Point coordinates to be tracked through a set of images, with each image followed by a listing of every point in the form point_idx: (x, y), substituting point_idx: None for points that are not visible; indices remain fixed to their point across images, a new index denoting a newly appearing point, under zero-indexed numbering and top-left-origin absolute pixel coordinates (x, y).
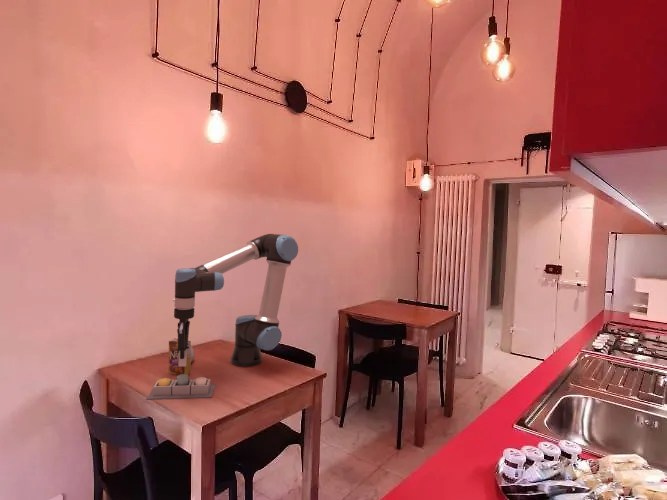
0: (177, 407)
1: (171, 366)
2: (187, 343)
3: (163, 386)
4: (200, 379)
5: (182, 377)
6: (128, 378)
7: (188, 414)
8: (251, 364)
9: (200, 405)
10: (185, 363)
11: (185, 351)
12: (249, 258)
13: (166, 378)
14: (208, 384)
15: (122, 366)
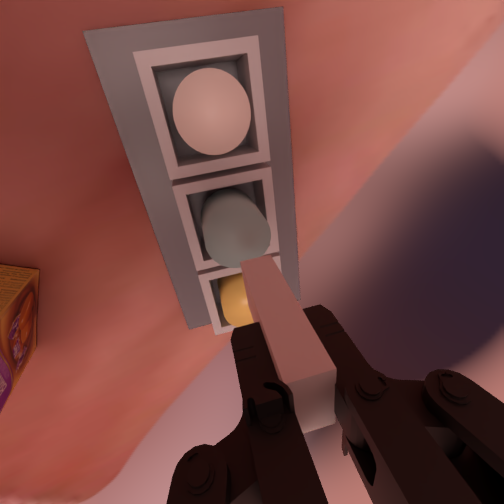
0: (367, 166)
1: (19, 366)
2: (213, 492)
3: None
4: (218, 116)
5: (259, 232)
6: (142, 420)
7: (435, 93)
8: None
9: (364, 57)
10: (277, 268)
11: (330, 361)
12: None
13: (230, 308)
14: (239, 38)
15: (49, 482)
